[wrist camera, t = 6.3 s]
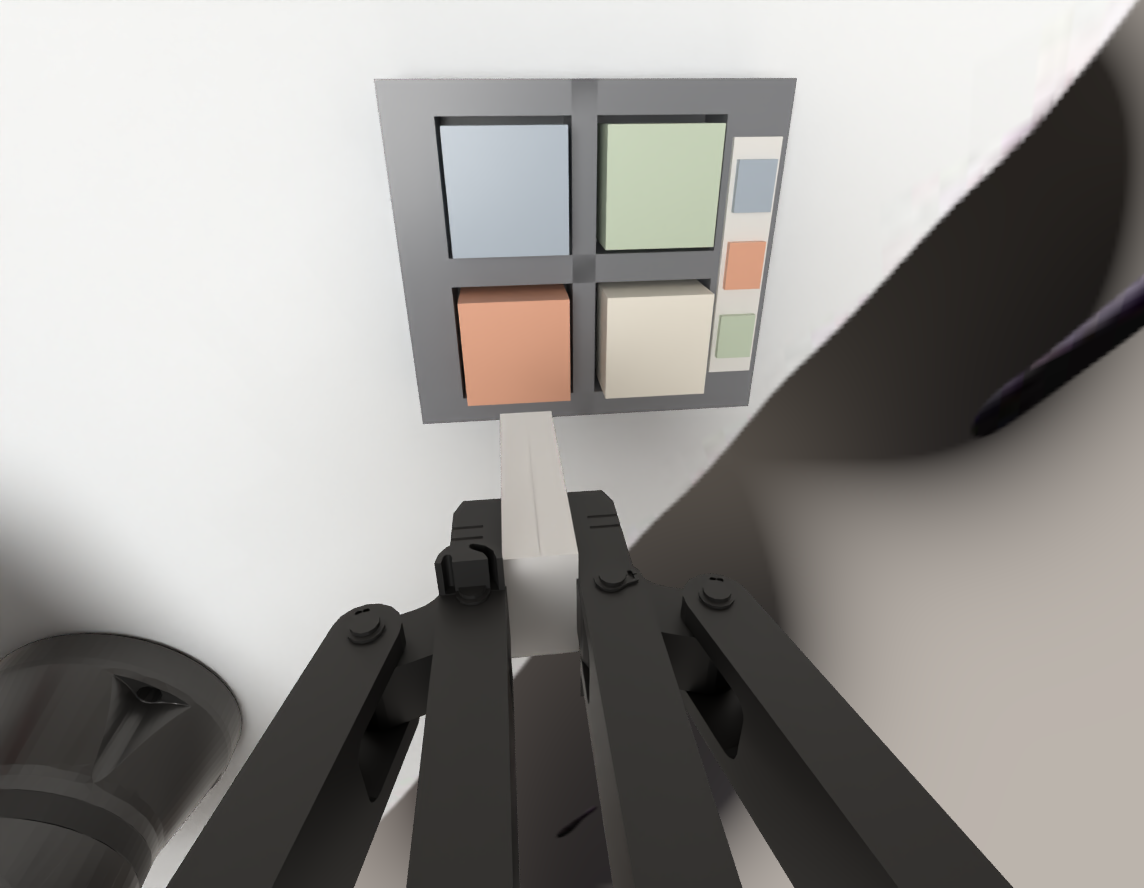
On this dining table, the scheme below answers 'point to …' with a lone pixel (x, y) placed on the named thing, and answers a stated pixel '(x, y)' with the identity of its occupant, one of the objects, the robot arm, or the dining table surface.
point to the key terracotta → (515, 343)
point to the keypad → (584, 225)
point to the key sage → (658, 184)
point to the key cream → (652, 337)
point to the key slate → (507, 189)
